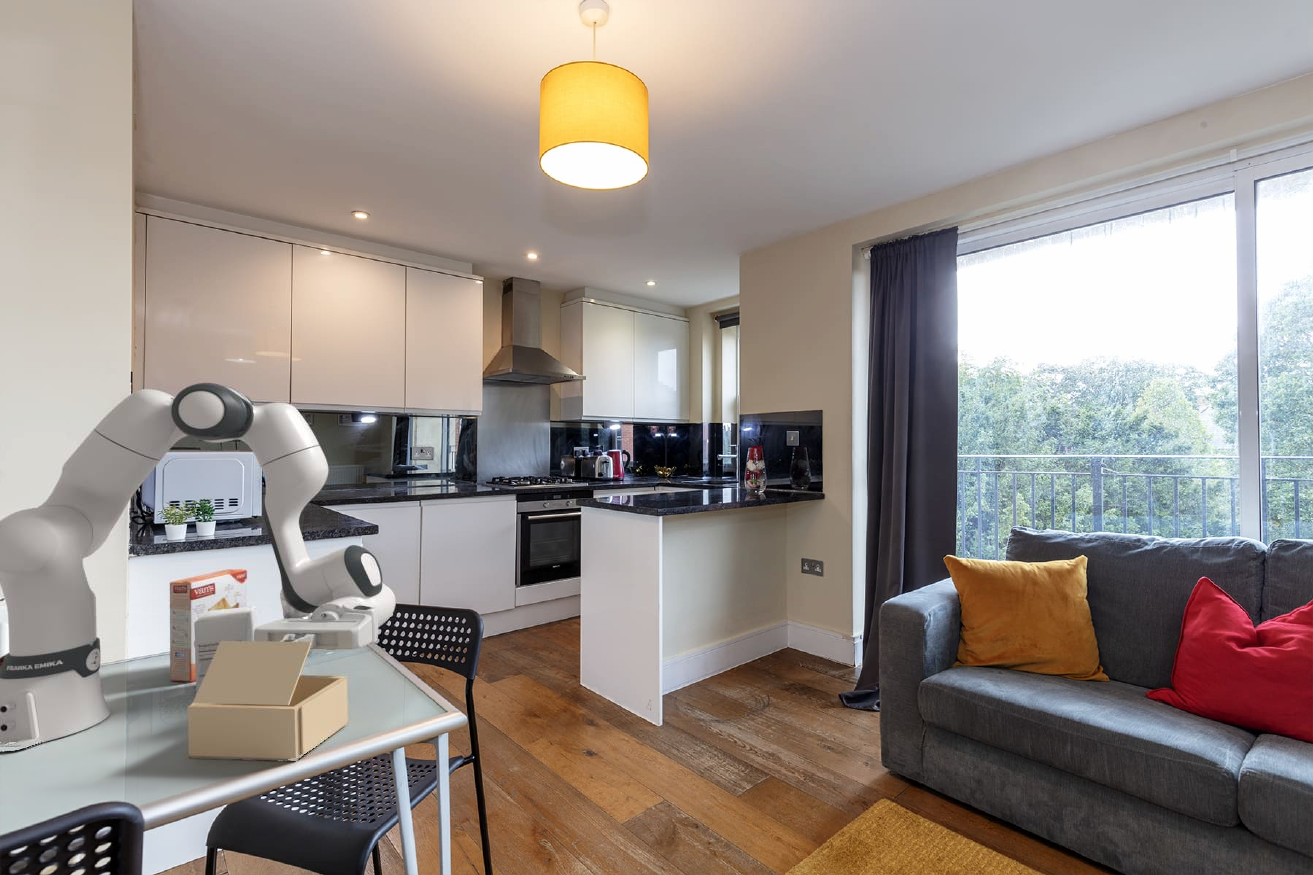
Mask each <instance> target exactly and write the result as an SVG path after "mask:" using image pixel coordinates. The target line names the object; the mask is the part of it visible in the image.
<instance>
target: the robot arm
mask: <svg viewBox="0 0 1313 875" xmlns="http://www.w3.org/2000/svg"><path fill="white" fill-rule="evenodd" d="M186 437H190V438H192V439H195V440H199V441H204V442H208V443H213V444H214V443H216V444H219V443H231V442H237V441H242V442H244V443H245V444H246V445H247V446H249V448H250V449H251V451H252V452H253V454H254V455H255V456H254V457H255V459H256V460H257V462H258V465H259V467H260V469H261V471H262V473H263V477H264V481H265V495H264V497H263V498H262V501H261V507H262V508H261V509H262V514H263V519H264V522H265V526H266V530H267V533H268V536H269V539H270V543H271V546H272V550H273V554H274V556H275V560H276V563H277V565H278V566H277V567H278V570H279V573H280V581H281V582H280V583H281V590H282V591H283V596H284V598H285V600H286V602H287V603H288V604H289V605H290V606H291V607H292V608H294V609H296V610H298V611H300V612H303V613H310V615H311V618H287V619H284V618H281V619H279V620H275V621H274V620H273V621H272V622H268V623H265V624H261V625H260V626H257V628H256V629H255V630H254V641H276V642H312V644H311V647H310V649H313V650H326V651H327V650H328V651H336V650H356V649H357V650H358V649H361V648H364V647H366V646H368V645H370V644H374V643H376V642H377V641H378V637H379V627H381V626H383V625H384V624H385V623H386V622H387V621H389V619H390V617H391V616H392V615H393V613H394V611H395V608H396V603H397V602H396V596H395V593H394V592H393V589H391V588H390V587H389V586H387V585H386V584H385V583H383V574H382V568H381V566H380V563H379V561H378V559H377V558H376V556H375V555H374V554H373V553H372V552H370V551H369V550H368V549H366V548H365V547H363V546H360V545H357V544H352V545H349V546H346V547H344V548H341V549H339V550H336V551H333V552H330V553H329V554H327V555H324V556H322V557H319V558H316V559H314V560H312V559H311V558H310V556H309V554H308V552H307V548H306V545H305V540H304V539H303V534H302V530H301V529H300V528H301V527H300V522H299V521H300V516H301V514H302V511H303V510H304V508H306V506H307V505H308V504H309V502H311V500H312V499H313V498H315V496H316V495H317V494H319V492H320V491H321V490H322V488H323V487H324V486H325V483H326V482H327V480H328V477H329V476H328V475H329V465H328V462H327V458H326V456H325V453H324V451H323V449H322V447H321V445H320V443H319V440H318V439H317V438H316V436H315V434H314V432H313V430H312V429H311V427H310V425H309V424H308V422H307V421H306V419H305V418H304V417H303V415H302V414H301V413H300V412H299V410H298V409H297V408H296V407H295V405H294V406H293V405H292V404H290V403H286V402H276V401H275V402H271V403H270V402H269V403H266V404H263V405H255V404H254V402H253V401H252V400H251V398H249V397H248V396H247V395H246V394H244V393H242V392H240V391H238V390H237V389H235V388H233V387H230V386H226V385H222V384H219V383H214V382H213V383H212V382H199V383H194V384H192V385H188V386H187V387H185V388H183V389H182V390H180V391H179V392H178V393H177V394H176V396H173V395H172V394H169V393H167V392H164V391H162V390H158V389H153V388H151V389H150V388H144V389H142V388H141V389H138V390H135V391H134V392H132V393H131V394H129V395H128V396H127V397H125V398H124V399H123V400H122V401H120V402H119V403H118V404H117V405H116V406H115V407H113V409H112V410H111V411H109V413H107V414H106V415H105V417H103V419H101V421H100V422H99V423H98V424H97V425H96V426H95V428H93V429H92V431H90V433H89V434H88V435H87V436H86V438H85V439H84V440H83V441H82V443H81V444H80V445H79V446H78V447H77V448H76V450H75V451H74V452H73V453H72V454H71V456H70V457H69V458H68V459H67V460H66V461H65V462H64V464H63V466H62V467H61V468H62V469H61V474H60V476H59V479H58V481H57V483H56V484H55V486H54V488H53V489H52V492H51V494H50V495H49V496H48V498H46V500H45V501H44V502H43V503H42V504H41V505H39V506H37V507H33V508H27V509H22V510H18V511H15V512H13V513H10V514H9V515H7V516H6V517H4V518H2V519H0V588H1V590H2V594H3V597H4V599H5V603H6V609H7V622H8V623H7V624H8V650H9V651H8V652H7V653H6V654H4V655H2V656H0V742H1V743H0V747H26V746H30V745H34V746H36V745H35V744H37V745H39V744H42V743H46V742H48V741H52V740H57V739H59V738H63V737H67V736H69V735H72V734H75V733H78V732H81V731H84V730H86V729H89V728H91V727H94V726H95V725H97V724H100V723H101V722H103V721H104V720H107V718H109V717H110V715H111V710H110V708H109V706H108V704H107V701H106V698H105V695H104V691H103V687H102V681H101V676H100V675H101V674H100V669H101V658H102V657H101V640H100V638H99V637H98V635H97V634H98V632H97V629H98V627H97V598H96V594H95V593H94V592H95V591H93V590H92V589H91V587H90V584H89V581H88V578H87V576H86V572H85V568H84V563H83V562H84V559H85V558H88V557H90V556H91V555H93V554H94V553H96V551H98V550H99V549H100V548H101V547H102V546H103V545H104V543H105V542H106V541H107V539H108V538H109V536H110V533H111V531H112V530H113V529H114V527H115V526H116V524H117V522H118V520H119V519H120V517H121V516H122V514H123V512H124V510H125V509H126V507H127V506H128V504H129V502H130V500H131V499H132V497H133V496H134V494H136V492H137V490H138V489H139V488H140V486H141V485H142V484H143V483H144V482H145V481H146V479H147V478H148V477H149V475H150V474H151V473H152V472H153V471H154V469H155V468H156V467H157V465H158V464H159V463H160V462H161V460H162V459H163V458H164V456H166V454H167V453H168V452H169V451H170V449H171V448H172V447H173V446H174V445H175V444H176V443H177V442H178V441H179V440H182V439H183V438H186ZM9 742H16V743H14V744H10V745H9V744H8V745H5V744H7V743H9ZM41 742H42V743H41ZM38 743H39V744H38Z"/></svg>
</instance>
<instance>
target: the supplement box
mask: <svg viewBox="0 0 1313 875" xmlns="http://www.w3.org/2000/svg"><path fill="white" fill-rule="evenodd" d="M257 627H258V626H257V608H256V605H252V606H247V607H242V608H233V609H221V610H212V611H208V612H207V613H205V614H204V615H203V616H202V617H200V618H199V619H198V620H197V621H195V622H194V628H195V667H196V680H195V696H196V695H197V692H198V690H199V688H200V686H201V684H202V681H203V679H204V677H205V675H206V672H207V670H208V668H209V666H210V664H211V661H212V659H213V657H214V655H215V653H216V650H217V648H218V646H219V644H220V641H254V630H255V629H256V628H257Z"/></svg>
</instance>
